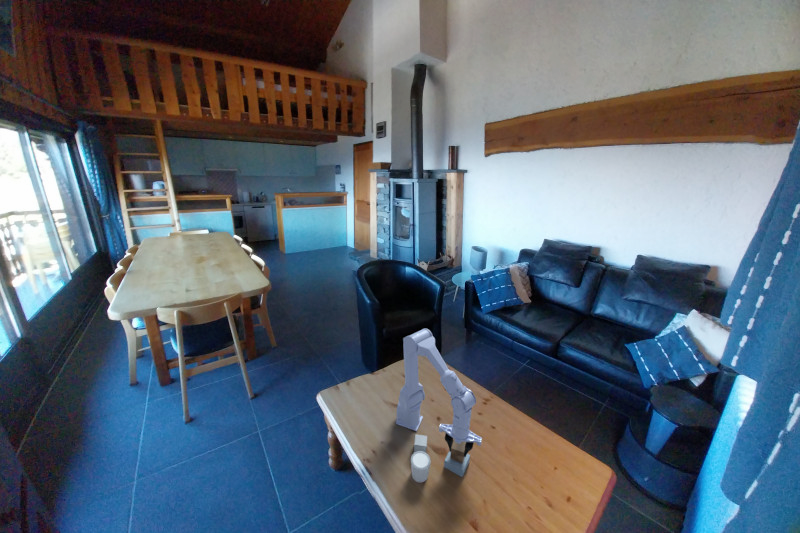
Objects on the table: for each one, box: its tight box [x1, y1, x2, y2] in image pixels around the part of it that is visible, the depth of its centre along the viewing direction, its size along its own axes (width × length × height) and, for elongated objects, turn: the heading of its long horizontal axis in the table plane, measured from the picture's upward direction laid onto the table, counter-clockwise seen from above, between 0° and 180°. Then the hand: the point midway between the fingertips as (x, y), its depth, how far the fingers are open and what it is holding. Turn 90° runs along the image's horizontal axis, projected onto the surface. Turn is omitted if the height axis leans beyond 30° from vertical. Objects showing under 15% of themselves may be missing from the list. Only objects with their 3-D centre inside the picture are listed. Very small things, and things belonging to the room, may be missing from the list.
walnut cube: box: [450, 438, 466, 463], centre depth 107 cm, size 4×4×5 cm
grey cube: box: [413, 434, 428, 454], centre depth 113 cm, size 4×4×5 cm
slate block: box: [443, 450, 471, 478], centre depth 108 cm, size 7×7×4 cm
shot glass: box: [410, 451, 432, 483], centre depth 104 cm, size 7×7×7 cm
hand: (458, 451), depth 107 cm, fingers closed on walnut cube, 4 cm apart
